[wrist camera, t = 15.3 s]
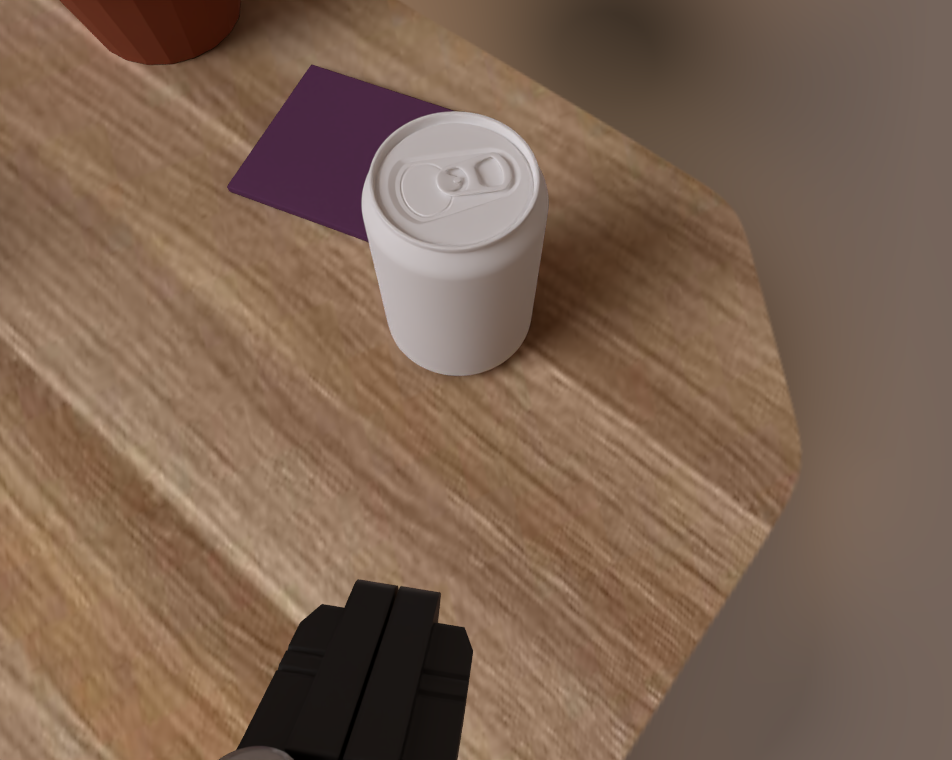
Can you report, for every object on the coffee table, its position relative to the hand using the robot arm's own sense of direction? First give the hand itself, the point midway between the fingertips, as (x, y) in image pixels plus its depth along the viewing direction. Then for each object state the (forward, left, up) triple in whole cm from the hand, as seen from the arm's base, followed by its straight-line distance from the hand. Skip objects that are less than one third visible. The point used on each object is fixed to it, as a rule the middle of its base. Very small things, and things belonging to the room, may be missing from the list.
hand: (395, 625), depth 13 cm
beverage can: (+6, -17, -22) cm, 29 cm away
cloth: (+17, -25, -22) cm, 38 cm away
